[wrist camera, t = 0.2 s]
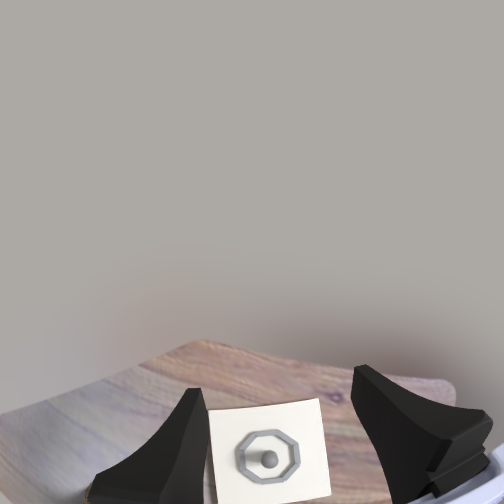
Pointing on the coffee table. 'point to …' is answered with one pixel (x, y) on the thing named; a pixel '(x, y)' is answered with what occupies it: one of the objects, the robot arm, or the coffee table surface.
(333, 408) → the coffee table surface
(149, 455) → the robot arm
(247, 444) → the post board
